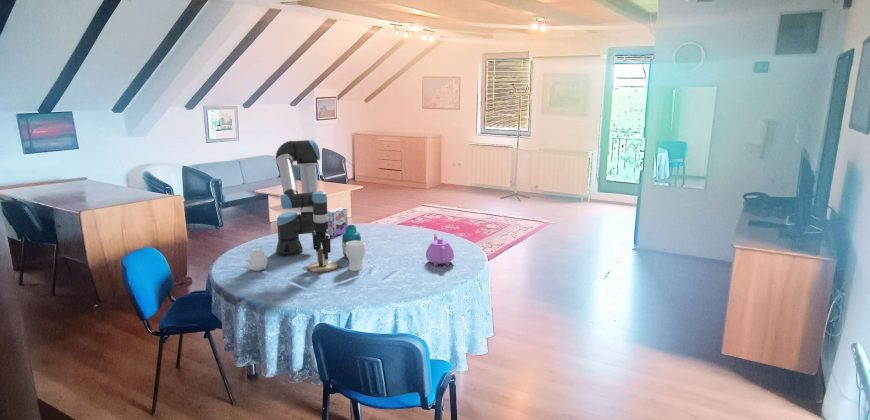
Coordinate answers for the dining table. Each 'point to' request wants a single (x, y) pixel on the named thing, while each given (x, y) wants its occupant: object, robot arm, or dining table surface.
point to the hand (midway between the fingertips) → (322, 263)
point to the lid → (319, 267)
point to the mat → (322, 272)
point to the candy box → (337, 221)
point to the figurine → (257, 260)
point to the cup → (355, 254)
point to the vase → (350, 237)
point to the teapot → (439, 252)
